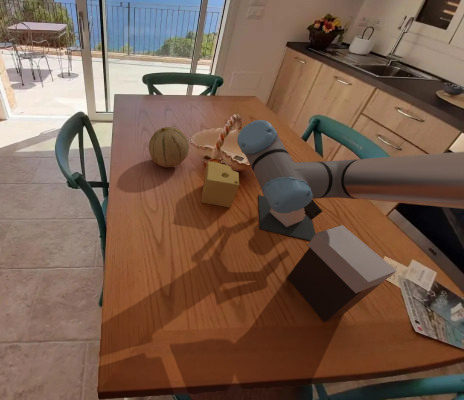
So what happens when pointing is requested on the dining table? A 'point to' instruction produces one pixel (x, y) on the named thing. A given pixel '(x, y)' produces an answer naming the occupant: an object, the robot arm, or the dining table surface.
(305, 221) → the mat
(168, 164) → the cantaloupe
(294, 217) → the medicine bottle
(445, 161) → the robot arm
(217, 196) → the cheese
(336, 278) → the lidded grey box
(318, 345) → the dining table surface
